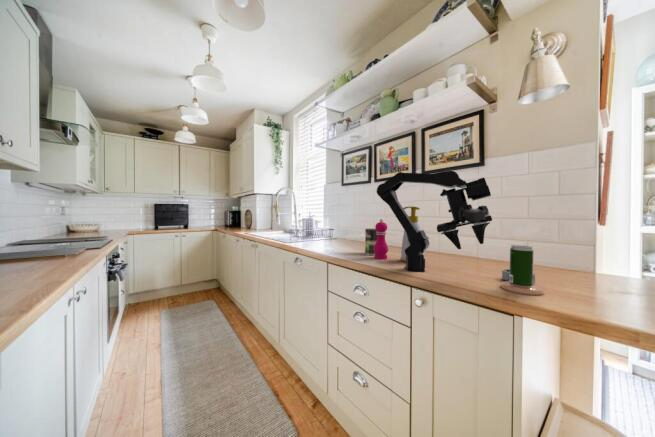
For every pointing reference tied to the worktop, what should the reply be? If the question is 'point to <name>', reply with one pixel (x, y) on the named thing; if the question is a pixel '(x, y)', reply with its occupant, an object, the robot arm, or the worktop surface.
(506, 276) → the collar
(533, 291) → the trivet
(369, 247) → the coffee can
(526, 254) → the beer can
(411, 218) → the soap bottle
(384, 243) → the pepper mill
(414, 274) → the worktop surface
